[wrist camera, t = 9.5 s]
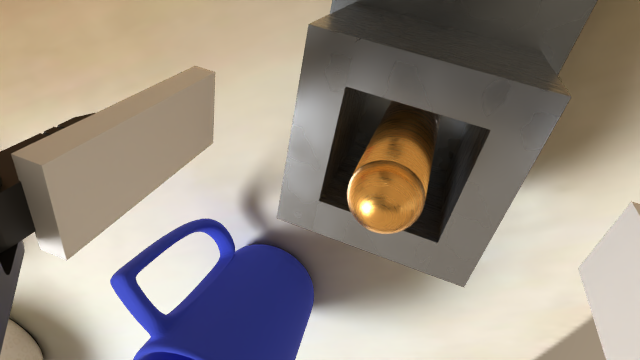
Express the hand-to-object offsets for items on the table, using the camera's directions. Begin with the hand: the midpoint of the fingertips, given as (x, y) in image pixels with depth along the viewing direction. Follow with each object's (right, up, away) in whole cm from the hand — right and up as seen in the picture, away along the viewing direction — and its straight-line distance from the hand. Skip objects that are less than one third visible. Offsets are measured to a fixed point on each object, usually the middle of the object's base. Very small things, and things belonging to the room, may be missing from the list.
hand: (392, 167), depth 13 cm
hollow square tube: (+2, +3, +6) cm, 7 cm away
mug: (-7, -6, +16) cm, 18 cm away
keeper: (+3, +6, +5) cm, 9 cm away
